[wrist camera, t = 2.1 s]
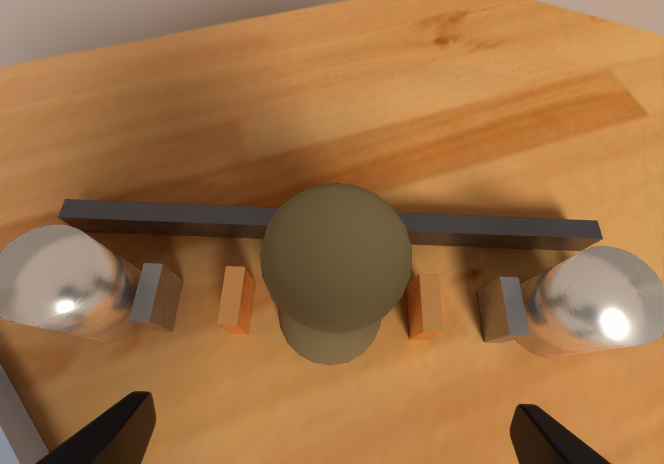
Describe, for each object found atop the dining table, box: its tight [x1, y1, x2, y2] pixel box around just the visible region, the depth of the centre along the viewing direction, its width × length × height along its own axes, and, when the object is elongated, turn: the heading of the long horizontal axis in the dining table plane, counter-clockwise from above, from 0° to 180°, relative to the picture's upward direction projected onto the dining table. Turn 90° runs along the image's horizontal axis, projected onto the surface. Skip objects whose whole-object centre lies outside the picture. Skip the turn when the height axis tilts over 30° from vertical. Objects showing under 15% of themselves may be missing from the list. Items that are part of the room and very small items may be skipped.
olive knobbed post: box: [260, 183, 412, 365], centre depth 16 cm, size 6×6×11 cm
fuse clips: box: [0, 199, 664, 357], centre depth 19 cm, size 8×32×6 cm, turn 88°
